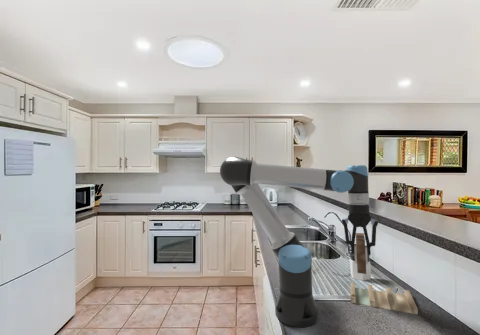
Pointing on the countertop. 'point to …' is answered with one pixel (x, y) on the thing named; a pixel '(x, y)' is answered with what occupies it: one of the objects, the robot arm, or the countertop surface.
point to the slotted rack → (383, 299)
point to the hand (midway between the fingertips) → (361, 262)
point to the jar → (355, 273)
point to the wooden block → (361, 253)
